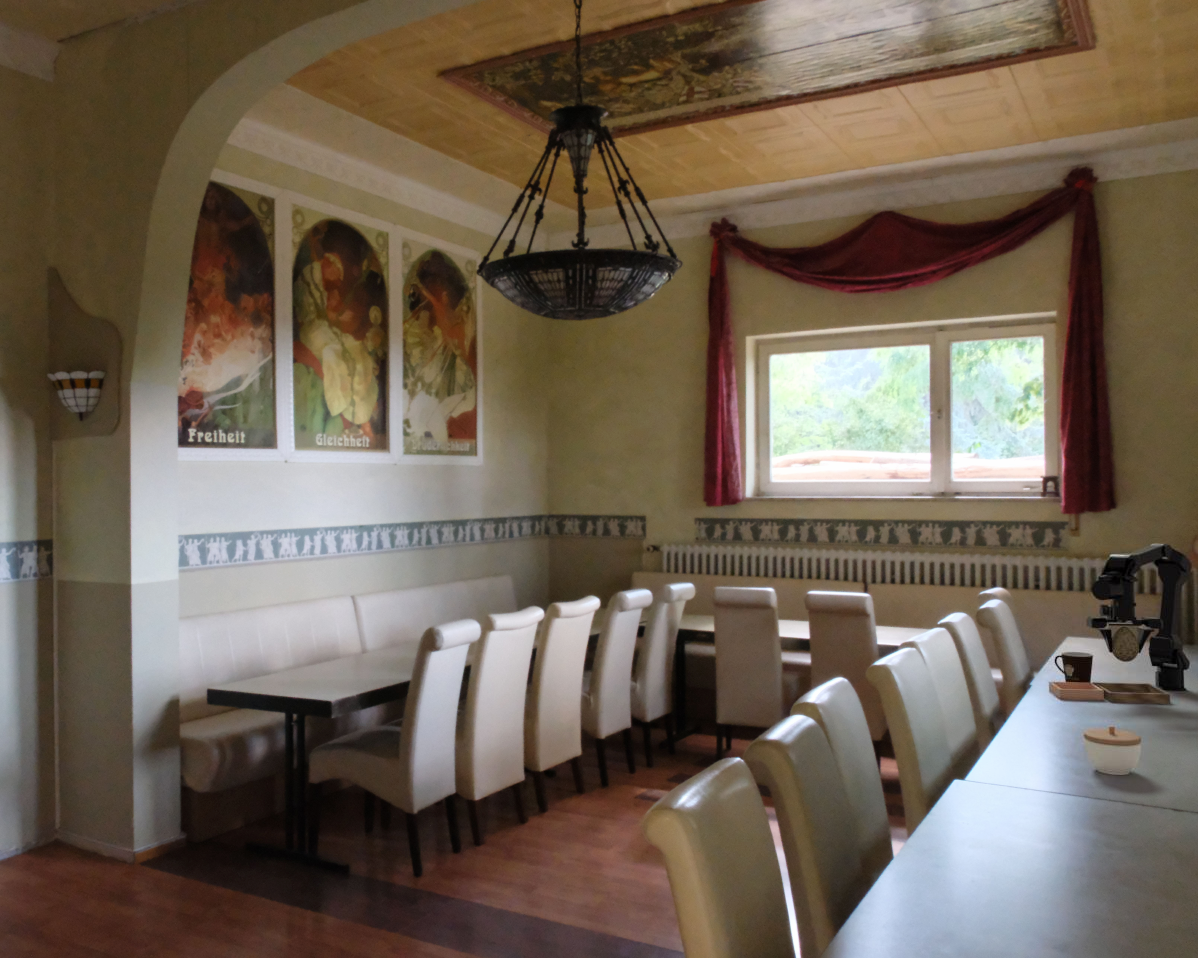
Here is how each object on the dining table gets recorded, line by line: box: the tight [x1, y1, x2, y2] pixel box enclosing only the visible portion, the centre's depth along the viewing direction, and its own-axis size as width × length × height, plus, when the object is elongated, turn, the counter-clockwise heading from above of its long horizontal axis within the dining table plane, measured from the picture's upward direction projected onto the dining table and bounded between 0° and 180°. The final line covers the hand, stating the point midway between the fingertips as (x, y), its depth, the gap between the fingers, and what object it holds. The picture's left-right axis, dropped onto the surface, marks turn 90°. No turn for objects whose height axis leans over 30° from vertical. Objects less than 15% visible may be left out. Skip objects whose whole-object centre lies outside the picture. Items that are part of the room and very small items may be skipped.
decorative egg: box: [1111, 626, 1139, 663], centre depth 278 cm, size 7×7×10 cm
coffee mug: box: [1054, 651, 1094, 683], centre depth 294 cm, size 12×9×10 cm
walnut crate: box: [1091, 681, 1171, 704], centre depth 278 cm, size 16×16×2 cm
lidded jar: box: [1083, 725, 1142, 776], centre depth 205 cm, size 11×11×9 cm
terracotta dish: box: [1048, 681, 1105, 701], centre depth 281 cm, size 12×12×3 cm
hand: (1124, 652), depth 278 cm, fingers closed on decorative egg, 7 cm apart
